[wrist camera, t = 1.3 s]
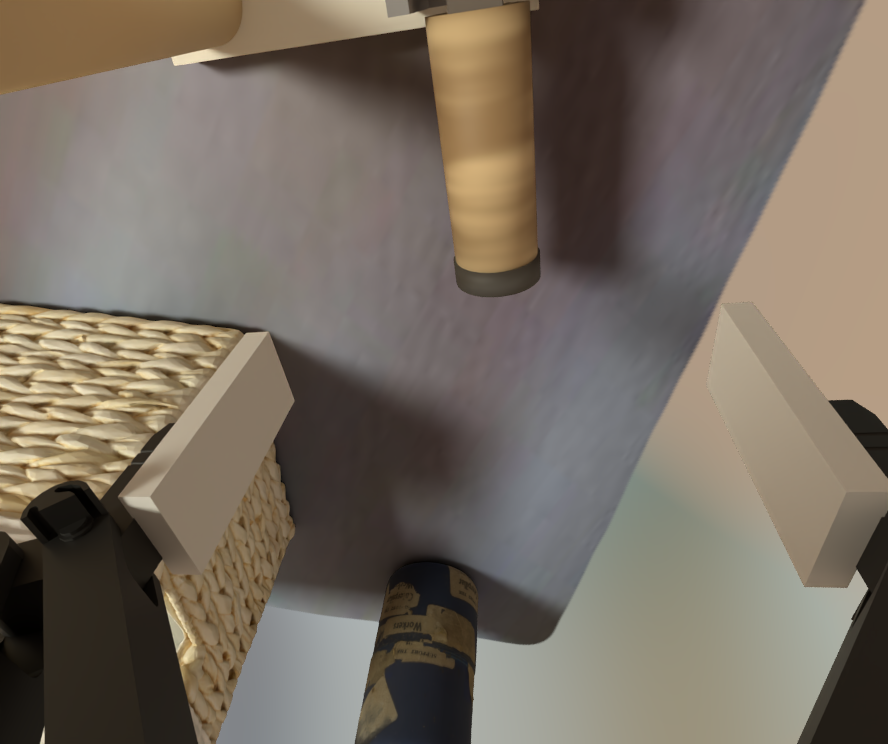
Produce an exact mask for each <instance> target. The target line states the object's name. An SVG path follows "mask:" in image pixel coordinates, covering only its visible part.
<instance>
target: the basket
mask: <svg viewBox="0 0 888 744" xmlns="http://www.w3.org/2000/svg"><path fill="white" fill-rule="evenodd" d="M243 336H244V334H243V333H242V332H240V331H239V330H235V329H230V328H220V327H213V326H210V325H190V324H186V323H182V322H176V321H166V320H161V321H149V320H145V319H140V318H134V317H116V316H112V315H108V314H102V313H80V312H76V311H72V310H52V309H46V308H39V307H33V306H12V305H6V304H1V303H0V531H3V532H6V533H7V534H8V535H9V536H10V537H11V538H12V539H13V540H14V541H15V542H16V543H17V544H18V543H22V542H25V541H29V540H33V539H37V538H36V537H35V536H34V535H33V533H32V532H31V531H30V530H29V529H28V528H27V527H26V526H25V525H24V523H23V522H22V521H21V520H20V518H21V515H22V512H23V510H24V509H25V508H26V507H27V506H28V504H29V503H30V502H31V501H32V500H33V499H35V498H36V497H37V496H38V495H40V494H41V493H42V492H44V491H46V490H48V489H49V488H51V487H53V486H55V485H58V484H61V483H64V482H67V481H74V480H80V481H83V482H86V483H87V484H88V485H89V487H90V488H91V489H92V491H93V492H94V493H95V495H96V496H97V497H98V499H99V500H101V498H102V497H103V496H104V495H105V493H106V492H107V491H108V490H109V488H110V487H111V486H112V485H113V484H114V482H115V481H116V480H117V479H118V477H119V476H120V475H121V474H122V473H123V471H124V470H125V469H126V468H127V466H128V465H131V461H132V460H133V459H134V458H135V457H136V455H137V454H138V453H141V451H140V450H141V449H142V448H143V447H144V445H145V444H146V443H147V442H148V441H149V439H150V438H151V437H152V436H153V435H154V434H156V433H157V432H158V431H160V430H161V429H162V428H163V427H165V426H166V425H167V424H169V423H176V422H177V420H178V419H179V418H180V417H181V415H182V414H183V413H184V411H185V410H186V409H187V408H188V406H189V405H190V404H191V403H192V401H193V400H194V399H195V397H196V396H197V395H198V394H199V392H200V391H201V390H202V389H203V387H204V386H205V385H206V383H207V382H208V381H209V380H210V378H211V377H212V376H213V375H214V373H215V372H216V371H217V369H218V368H219V367H220V366H221V364H222V363H223V362H224V360H225V359H226V358H227V357H228V355H229V354H230V353H231V352H232V350H233V349H234V348H235V346H236V345H237V344H238V343H239V341H240V340H241V339H242V338H243ZM275 459H276V449H275V445H274V442H272V444H271V446H270V448H269V450H268V452H267V454H266V456H265V457H264V459H263V461H262V463H261V465H260V467H259V469H258V471H257V472H256V474H255V476H254V478H253V480H252V482H251V484H250V485H249V487H248V489H247V491H246V493H245V495H244V497H243V499H242V500H241V502H240V504H239V506H238V508H237V510H236V512H235V513H234V515H233V517H232V519H231V521H230V523H229V525H228V527H227V528H226V530H225V532H224V534H223V536H222V538H221V540H220V542H219V543H218V545H217V547H216V549H215V551H214V553H213V555H212V556H211V558H210V560H209V562H208V564H207V566H206V568H205V570H204V571H203V573H202V575H183V574H172V573H171V571H170V570H169V568H168V567H167V566H166V564H165V563H164V561H163V560H161V562H160V563H159V565H158V567H157V568H156V570H155V571H154V574H155V575H156V576H157V578H158V580H159V581H160V585H161V589H162V593H163V597H164V602H165V606H166V610H167V614H168V618H169V623H170V627H171V631H172V635H173V640H174V644H175V648H176V652H177V656H178V661H179V665H180V669H181V673H182V677H183V682H184V686H185V690H186V694H187V698H188V703H189V707H190V711H191V715H192V720H193V724H194V728H195V732H196V736H197V741H198V744H216V740H217V738H218V736H219V732H220V729H221V725H222V723H223V722H224V720H225V718H226V715H227V711H228V709H229V707H230V704H231V701H232V697H233V694H232V693H233V691H234V689H235V687H236V684H237V678H238V677H239V675H240V673H241V669H242V665H243V663H244V662H245V659H246V655H247V653H248V651H249V649H250V647H251V644H252V640H253V638H254V637H255V634H256V632H257V624H258V623H259V621H260V619H261V617H262V613H263V611H264V608H265V604H266V603H267V601H268V599H269V597H270V594H271V590H272V588H273V585H274V580H275V579H276V576H277V574H278V571H279V567H280V565H281V561H282V559H283V557H284V556H285V552H286V548H287V546H288V544H289V541H290V540H291V539H292V538H293V536H294V535H295V524H294V523H293V519H292V517H290V516H289V511H290V506H289V502H288V501H287V500H286V496H285V485H284V484H283V483H282V482H281V471H280V465H279V464H277V463H276V460H275ZM40 744H45V735H44V730H43V734H42V738H41V742H40Z"/></svg>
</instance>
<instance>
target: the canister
mask: <svg viewBox="0 0 888 744" xmlns="http://www.w3.org/2000/svg"><path fill="white" fill-rule="evenodd" d="M477 612H478V592H477V589H476V587H475V585H474V583H473V582H472V580H471V579H470V578H469V577H468V576H467V575H466V574H465V573H463V572H462V571H460V570H458V569H456V568H453V567H451V566H448V565H444V564H439V563H432V562H422V563H414V564H410V565H407V566H404V567H402V568H400V569H398V570H397V571H396V572H395V573H394V574H393V575H392V576H391V578H390V580H389V582H388V584H387V588H386V593H385V598H384V603H383V608H382V612H381V617H380V620H379V627H378V632H377V637H376V641H375V647H374V652H373V656H372V659H371V663H370V668H369V673H368V678H367V683H366V688H365V693H364V699H363V704H362V709H361V714H360V718H359V723H358V729H357V734H356V739H355V744H471V725H472V710H473V708H472V707H473V700H474V699H473V688H474V675H475V667H476V647H477Z"/></svg>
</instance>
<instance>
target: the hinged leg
mask: <svg viewBox="0 0 888 744" xmlns="http://www.w3.org/2000/svg"><path fill="white" fill-rule="evenodd" d="M447 10H448V12H447V13H441V14H436V15H431V16H427V17H425V25H426V33H427V41H428V48H429V56H430V64H431V72H432V80H433V87H434V95H435V103H436V111H437V118H438V126H439V134H440V142H441V149H442V157H443V165H444V173H445V180H446V188H447V196H448V204H449V211H450V219H451V227H452V235H453V243H454V250H455V257H454V266H455V274H456V281H457V285H458V287H459V288H460V289H461V290H462V291H464V292H466V293H468V294H471V295H475V296H480V297H502V296H508V295H513V294H516V293H520V292H522V291H525V290H527V289H529V288H531V287H532V286H534V285H535V284H536V283H537V282H538V280H539V279H540V250H539V248H538V244H537V212H536V180H535V148H534V117H533V85H532V53H531V21H530V0H527V1H517V2H509V3H503V0H447Z"/></svg>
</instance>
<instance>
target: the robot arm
mask: <svg viewBox="0 0 888 744" xmlns="http://www.w3.org/2000/svg"><path fill="white" fill-rule="evenodd" d="M706 386H707V388H708V390H709V392H710V394H711V396H712V398H713V400H714V403H715V405H716V406H717V409H718V411H719V413H720V415H721V417H722V419H723V421H724V423H725V425H726V427H727V429H728V431H729V433H730V435H731V437H732V439H733V442H734V443H735V445H736V448H737V450H738V452H739V454H740V456H741V458H742V460H743V462H744V464H745V466H746V468H747V470H748V472H749V474H750V476H751V478H752V481H753V483H754V485H755V487H756V489H757V491H758V493H759V495H760V497H761V499H762V501H763V503H764V505H765V507H766V509H767V511H768V513H769V515H770V517H771V519H772V522H773V524H774V526H775V528H776V530H777V532H778V534H779V536H780V538H781V540H782V542H783V544H784V546H785V548H786V550H787V552H788V554H789V556H790V559H791V561H792V563H793V565H794V567H795V569H796V571H797V573H798V575H799V577H800V579H801V581H802V583H803V585H804V587H837V588H839V587H840V588H847V587H848V585H849V583H850V582H851V580H852V578H853V576H854V574H855V572H856V570H858V572H859V573H860V575H861V576H862V578H863V580H864V582H865V583H866V585H867V587H868V590H867V592H866V594H865V595H864V597H863V599H862V601H861V603H860V604H859V606H858V608H857V610H856V612H855V613H854V615H853V617H852V620H853V622H852V624H851V626H850V628H849V630H848V633H847V635H846V637H845V639H844V641H843V644H842V646H841V648H840V650H839V652H838V655H837V657H836V659H835V661H834V664H833V666H832V668H831V670H830V672H829V674H828V677H827V679H826V681H825V683H824V685H823V688H822V690H821V692H820V694H819V697H818V699H817V701H816V703H815V705H814V708H813V710H812V712H811V714H810V716H809V719H808V721H807V723H806V725H805V727H804V730H803V732H802V734H801V736H800V738H799V741H798V743H797V744H888V429H887V428H886V427H885V426H884V425H883V423H882V422H881V421H880V420H879V418H878V417H877V416H876V415H875V414H873V413H872V412H870V411H869V410H867V409H866V408H864V407H862V406H861V405H859V404H858V403H856V402H854V401H853V400H834V401H833V400H831V401H828V400H827V399H826V398H825V396H824V395H823V394H822V392H821V391H820V390H819V388H818V387H817V386H816V385H815V383H814V382H813V381H812V379H811V378H810V377H809V375H808V374H807V373H806V371H805V370H804V369H803V367H802V366H801V365H800V364H799V362H798V361H797V360H796V358H795V357H794V356H793V354H792V353H791V352H790V351H789V349H788V348H787V347H786V345H785V344H784V343H783V341H782V340H781V339H780V337H779V336H778V335H777V334H776V332H775V331H774V330H773V328H772V327H771V326H770V325H769V323H768V322H767V320H766V319H765V318H764V317H763V315H762V314H761V313H760V311H759V310H758V309H757V307H756V306H755V305H754V304H753V302H743V303H727V304H721V310H720V315H719V320H718V325H717V331H716V336H715V341H714V346H713V351H712V357H711V362H710V368H709V372H708V378H707V383H706ZM294 401H295V400H294V397H293V395H292V392H291V389H290V387H289V384H288V381H287V379H286V376H285V373H284V371H283V368H282V365H281V363H280V360H279V357H278V355H277V352H276V349H275V347H274V344H273V341H272V339H271V336H270V333H269V332H254V333H246V334H245V335H244V336H243V338H242V339H241V340H240V341H239V343H238V344H237V345H236V346H235V348H234V349H233V350H232V352H231V353H230V354H229V355H228V357H227V358H226V359H225V360H224V362H223V363H222V364H221V366H220V367H219V368H218V369H217V371H216V372H215V373H214V375H213V376H212V377H211V378H210V380H209V381H208V382H207V383H206V385H205V386H204V387H203V389H202V390H201V391H200V392H199V394H198V395H197V396H196V397H195V399H194V400H193V401H192V403H191V404H190V405H189V406H188V408H187V409H186V410H185V411H184V413H183V414H182V415H181V417H180V418H179V419H178V420H177V422H176V423H169V424H167V425H166V426H165V427H163V428H162V429H161V430H160V431H158V432H157V433H156V434H154V435H153V436H152V437H151V438H150V439H149V441H148V442H147V443H146V444H145V445H144V447H143V448H142V449H141V450H140V451H141V453H138V454H137V455H136V457H135V458H134V459H133V460H132V461H131V465H128V466H127V468H126V469H125V470H124V471H123V473H122V474H121V475H120V476H119V477H118V479H117V480H116V481H115V482H114V484H113V485H112V486H111V487H110V488H109V490H108V491H107V492H106V493H105V495H104V496H103V497H102V498H101V500H99V499H98V497H97V496H96V495H95V493H94V492H93V491H92V489H91V488H90V487H89V485H88V484H87V483H86V482H83V481H80V480H74V481H67V482H64V483H61V484H58V485H55V486H53V487H51V488H49V489H48V490H46V491H44V492H42V493H41V494H40V495H38V496H37V497H36V498H35V499H33V500H32V501H31V502H30V503H29V504H28V506H27V507H26V508H25V509H24V510H23V512H22V515H21V518H20V520H21V521H22V522H23V523H24V525H25V526H26V527H27V528H28V529H29V530H30V531H31V532H32V533H33V535H34V536H35V537H36V538H37V539H33V540H29V541H25V542H22V543H18V544H17V543H16V542H15V541H14V540H13V539H12V538H11V537H10V536H9V535H8V534H7V533H6V532H3V531H0V744H40V742H41V738H42V734H43V730H44V735H45V744H198V741H197V736H196V732H195V728H194V724H193V720H192V715H191V711H190V707H189V703H188V698H187V694H186V690H185V686H184V682H183V677H182V673H181V669H180V665H179V661H178V656H177V652H176V648H175V644H174V640H173V635H172V631H171V627H170V623H169V618H168V614H167V610H166V606H165V602H164V597H163V593H162V589H161V585H160V581H159V580H158V578H157V576H156V575H155V574H154V571H155V570H156V568H157V567H158V565H159V563H160V562H161V560H163V561H164V563H165V564H166V566H167V567H168V568H169V570H170V571H171V573H172V574H183V575H202V573H203V571H204V570H205V568H206V566H207V564H208V562H209V560H210V558H211V556H212V555H213V553H214V551H215V549H216V547H217V545H218V543H219V542H220V540H221V538H222V536H223V534H224V532H225V530H226V528H227V527H228V525H229V523H230V521H231V519H232V517H233V515H234V513H235V512H236V510H237V508H238V506H239V504H240V502H241V500H242V499H243V497H244V495H245V493H246V491H247V489H248V487H249V485H250V484H251V482H252V480H253V478H254V476H255V474H256V472H257V471H258V469H259V467H260V465H261V463H262V461H263V459H264V457H265V456H266V454H267V452H268V450H269V448H270V446H271V444H272V442H273V441H274V439H275V437H276V435H277V433H278V431H279V429H280V428H281V426H282V424H283V422H284V420H285V418H286V416H287V414H288V413H289V411H290V409H291V407H292V405H293V403H294Z"/></svg>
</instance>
